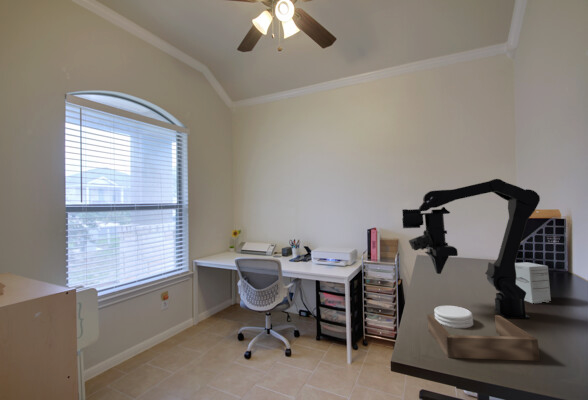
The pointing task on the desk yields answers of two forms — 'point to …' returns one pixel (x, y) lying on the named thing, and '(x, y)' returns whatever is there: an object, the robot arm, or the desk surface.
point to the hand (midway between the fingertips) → (438, 273)
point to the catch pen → (487, 342)
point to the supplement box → (533, 281)
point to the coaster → (453, 316)
